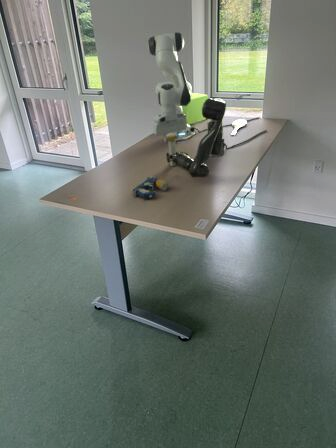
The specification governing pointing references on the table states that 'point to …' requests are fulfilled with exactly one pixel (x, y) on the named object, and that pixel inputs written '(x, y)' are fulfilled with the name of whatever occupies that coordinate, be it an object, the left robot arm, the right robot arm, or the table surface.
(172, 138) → the lid
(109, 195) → the table surface
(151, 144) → the table surface
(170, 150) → the pale cream cylinder
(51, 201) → the table surface
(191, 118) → the lime green box
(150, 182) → the spray gun
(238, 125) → the spoon
